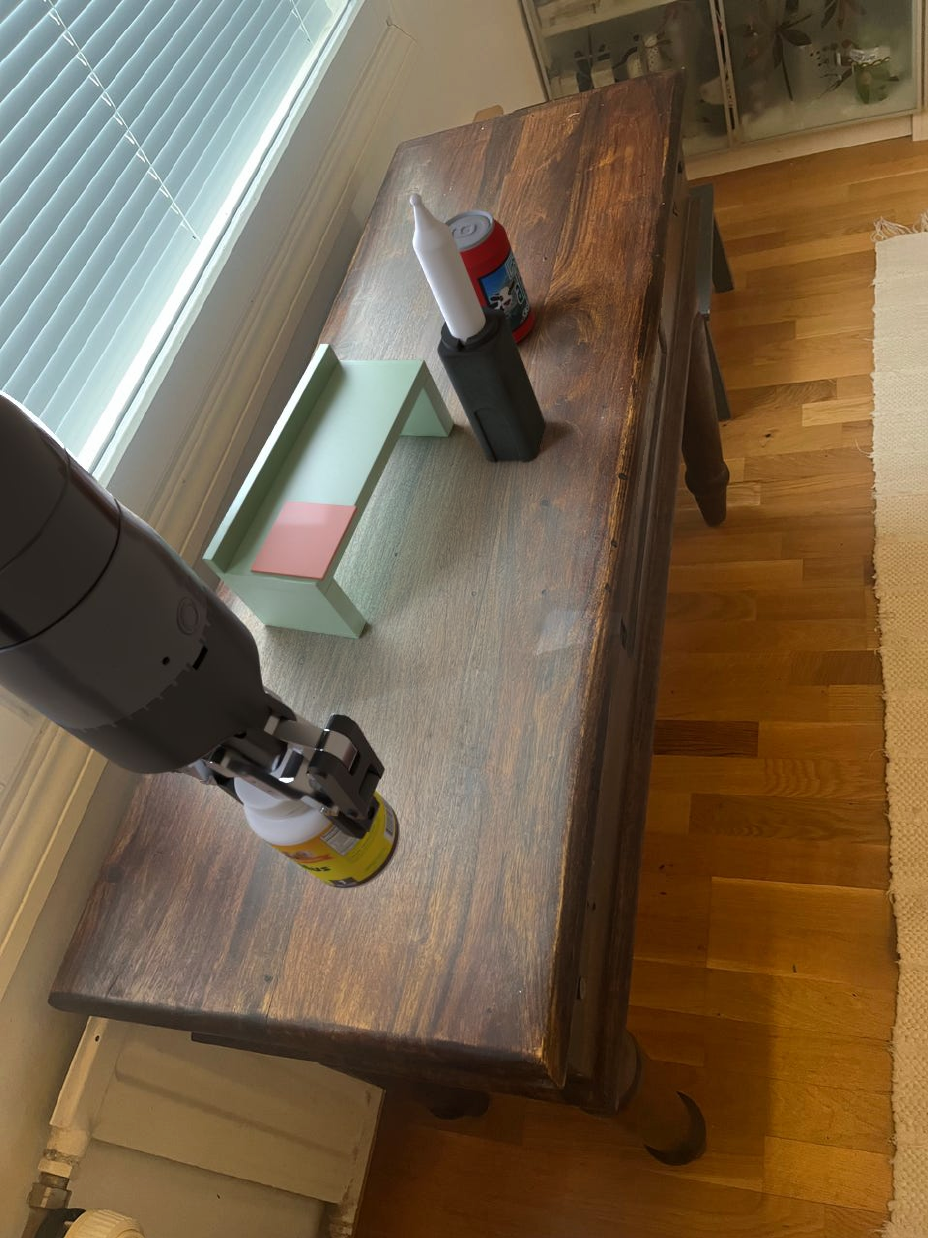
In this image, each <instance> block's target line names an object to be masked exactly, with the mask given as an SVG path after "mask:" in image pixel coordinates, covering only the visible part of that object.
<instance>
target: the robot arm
mask: <svg viewBox="0 0 928 1238" xmlns="http://www.w3.org/2000/svg"><path fill="white" fill-rule="evenodd" d="M261 670H262V668H261V659H260V652H259V648H258V645H257V642H256V639H255V638H254V635H253V634H252V632H251V631H250V629H249V627H247V626H246V624H245V623H244V622H243V621H242V620H241V619H240V618H239V617H238V616H237V615H236V614H235V613H234V611H232V609H231V608H230V607H229V606H228V605H227V604H226V603H225V602H224V601H223V600H222V599H221V598H220V597H219V596H218V595H217V594H216V592H214V591H213V590H212V588H211V587H210V586H209V585H208V584H207V583H206V581H204V580H203V579H202V577H200V576H199V574H198V573H196V572H195V571H194V569H193V568H192V567H191V566H190V565H189V564H188V563H187V561H185V560H184V558H182V557H181V556H180V555H179V553H178V552H177V551H176V550H174V547H172V546H171V544H169V543H168V542H167V541H166V539H164V538H163V537H162V536H161V535H160V534H159V533H158V532H157V531H156V530H155V529H154V528H153V527H152V526H151V525H150V524H149V523H147V521H145V520H144V519H143V518H141V517H139V516H138V515H137V514H135V512H133V511H131V510H130V509H129V508H128V507H126V506H125V505H124V504H122V503H121V501H119V500H118V499H117V498H116V497H115V496H114V495H112V493H110V492H109V491H108V490H107V489H106V488H105V487H104V486H103V485H102V484H101V483H100V481H99V480H97V479H96V477H95V476H93V474H92V473H91V472H90V471H89V470H88V469H87V468H86V467H85V466H84V465H83V464H82V463H81V462H80V461H79V460H78V459H77V457H75V455H73V453H72V452H71V451H70V450H69V449H68V448H67V447H66V446H65V445H64V444H63V443H62V441H60V439H59V438H58V437H57V436H56V435H55V434H54V433H53V432H52V431H51V430H50V429H49V428H48V427H47V426H46V425H45V424H44V423H43V422H42V421H41V420H40V419H39V418H38V417H37V416H36V415H34V414H33V413H32V412H31V411H29V409H28V408H26V407H25V406H24V405H22V403H20V402H19V401H17V400H15V399H14V398H13V397H11V396H10V395H8V394H6V393H5V392H3V391H1V390H0V686H1V687H2V688H3V689H4V690H6V691H7V692H8V693H10V694H11V695H13V696H14V697H16V698H17V699H19V700H20V701H21V702H23V703H25V704H26V705H28V706H29V707H31V708H32V709H33V710H35V711H36V712H38V713H39V714H41V715H43V717H45V718H47V719H48V720H50V721H51V722H53V723H54V724H55V725H56V726H58V727H60V728H62V729H63V730H64V731H66V732H67V733H69V734H70V735H71V736H73V737H75V738H76V739H78V740H79V741H80V742H82V743H84V744H85V745H86V746H87V747H89V748H91V749H92V750H94V751H95V752H96V753H98V754H99V755H101V756H103V757H104V758H105V759H107V760H108V761H110V762H111V763H113V764H114V765H116V766H117V767H119V768H121V769H124V770H126V771H129V772H132V773H134V774H144V775H158V774H165V773H172V774H185V775H187V776H190V777H192V778H195V779H197V780H198V781H199V783H201V784H202V785H205V786H214V787H216V786H217V788H220V790H222V791H223V792H225V793H226V794H227V795H229V796H230V797H231V798H232V799H233V800H235V801H236V802H238V803H240V805H242V807H244V803H243V802H242V801H241V800H240V798H239V797H238V795H237V793H236V790H235V785H234V778H235V777H236V778H241V779H243V780H244V781H246V782H248V783H250V784H251V785H253V786H255V787H256V788H258V789H260V790H262V791H263V792H265V793H267V794H269V795H270V796H272V797H274V798H276V799H278V800H289V801H298V800H301V801H303V802H305V803H306V804H308V805H310V806H311V807H313V808H315V809H317V810H318V811H319V813H321V814H323V815H324V816H325V817H326V818H327V819H328V820H330V821H331V822H332V823H333V824H334V825H335V826H337V827H338V828H339V829H340V830H341V831H342V832H344V833H345V834H346V835H347V836H350V837H354V838H357V839H362V838H364V836H365V835H366V833H367V832H370V830H371V827H372V825H373V822H374V820H375V817H376V815H377V813H378V810H379V808H380V803H379V802H378V801H377V799H376V797H375V796H374V793H375V790H376V791H377V788H378V785H379V783H380V780H382V778H383V776H384V773H385V771H386V768H385V766H384V765H383V762H382V761H381V759H380V757H379V756H378V755H377V753H376V751H375V749H374V748H373V746H372V745H371V744H370V741H369V740H368V739H367V737H366V735H365V734H364V732H363V730H362V729H361V728H360V727H361V726H359V724H358V723H357V722H356V721H355V720H354V719H352V718H351V717H350V716H349V715H345V714H340V713H331V714H330V716H329V718H328V721H327V723H326V725H325V728H321V727H318V726H316V725H315V724H313V723H312V722H310V721H309V720H307V719H306V718H304V717H303V716H301V715H300V714H298V713H297V712H295V711H294V710H293V708H291V707H290V706H289V705H287V704H286V703H285V702H284V701H283V699H282V697H281V696H280V695H279V694H277V693H276V692H274V691H273V690H272V689H270V688H269V687H267V686H265V685H264V683H263V676H262V671H261ZM288 749H291V750H293V751H292V753H291V755H290V757H289V759H288V762H287V764H286V766H285V768H284V770H283V772H282V775H281V777H280V778H279V779H278V778H276V777H274V776H273V775H271V774H269V773H272V772H274V771H276V770H277V769H278V768H279V767H280V765H281V763H282V761H283V759H284V757H285V755H286V753H287V750H288ZM310 779H312V780H316V781H317V782H318V783H319V785H320V786H321V787H320V789H319V791H318V790H316V789H314V788H313V787H312V786H311V785H310Z"/></svg>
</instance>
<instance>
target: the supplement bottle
mask: <svg viewBox="0 0 928 1238" xmlns="http://www.w3.org/2000/svg"><path fill="white" fill-rule="evenodd" d="M292 751H293V750H291V749H288V750H287V753H286V755H285V757H284V759H283V761H282V763H281V765H280V767H279V768H278V769H277V770H276V771H274V772H272V773H269V774H271V775H273V776H274V777H276V778H278V779H279V778H280V777H281V775H282V772H283V770H284V768H285V766H286V764H287V762H288V759H289V757H290V755H291V753H292ZM234 785H235V790H236V793H237V795H238V797H239V798H240V800H241V801H242V802H243V803H244V806H243V811H244V816H245V819H246V821H247V823H248V825H249V827H250V828H251V829H252V831H253V832H254V833H255V834H256V835H257V836H258V837H260V839H262V840H263V841H264V842H265V843H267V844H269V845H270V846H271V847H273V848H275V849H276V850H278V852H280V853H281V854H283V855H284V856H286V857H287V858H288V859H289V860H291V861H293V862H294V863H295V864H297V865H299V866H300V867H301V868H303V869H304V870H305V871H306V872H308V873H310V875H312V876H313V877H315V878H317V879H318V880H319V881H321V882H322V883H324V884H326V885H328V886H330V887H331V888H335V889H340V890H353V889H358V888H362V887H364V886H367V885H369V884H371V883H372V882H374V881H376V880H377V879H379V877H380V876H381V875H383V874H384V873H385V872H386V871H387V869H388V868H389V867H390V865H391V864H392V863H393V861H394V859H395V857H396V855H397V852H398V849H399V845H400V841H401V826H400V821H399V818H398V816H397V812H396V811H395V810H394V808H393V807H392V805H390V803H389V802H388V801H387V800H386V799H385V798H384V797H383V796H382V795H381V794H380V793H379V791H377V789H376V790H375V793H374V796H375V797H376V799H377V801H378V802H379V803H380V808H379V810H378V813H377V815H376V817H375V820H374V822H373V825H372V827H371V830H370V832H367V833H366V835H365V836H364V838H362V839H357V838H354V837H350V836H347V835H346V834H345V833H344V832H342V831H341V830H340V829H339V828H338V827H337V826H335V825H334V824H333V823H332V822H331V821H330V820H328V819H327V818H326V817H325V816H324V815H323V814H321V813H319V811H318V810H317V809H315V808H313V807H311V806H310V805H308V804H306V803H305V802H303V801H301V800H298V801H289V800H278V799H276V798H274V797H272V796H270V795H269V794H267V793H265V792H263V791H262V790H260V789H258V788H256V787H255V786H253V785H251V784H250V783H248V782H246V781H244V780H243V779H241V778H236V777H235V778H234ZM310 785H311V786H312V787H313V788H314V789H316V790H318V791H319V789H320V787H321V786H320V785H319V783H318V782H317V781H316V780H312V779H310Z"/></svg>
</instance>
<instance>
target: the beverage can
mask: <svg viewBox="0 0 928 1238" xmlns="http://www.w3.org/2000/svg"><path fill="white" fill-rule="evenodd" d="M443 223H444V224H446V225H447V226H448V227H449V228H450V230H451V232H452V235H453V237H454V240H455V242H456V245H457V247H458V250H459V253H460V255H461V258H462V260H463V263H464V265H465V268H466V270H467V273H468V275H469V278H470V281H471V283H472V286H473V288H474V291H475V293H476V296H477V298H478V301H479V303H480V305H483V306H487V307H489V308H491V309H500V310H502V311H503V312H504V313H505V315H506V318H507V321H508V323H509V326H510V329H511V331H512V334H513V337H514V339H515V342H516V344H517V343H519V341H521V340H522V339H524V337H526V335H528V333H529V332H530V331H531V330H532V327H533V325H534V321H535V318H534V317H535V315H534V312H533V309H532V306H531V305H532V304H531V303H530V299H529V296H528V293H527V290H526V287H525V284H524V281H523V277H522V275H521V271H520V269H519V265H518V263H517V260H516V257H515V254H514V252H513V248H512V246H511V243H510V240H509V237H508V234H507V231H506V229H505V227H504V226H503V225H502V223H500V222H499V221H498V220H496V219H495V218H494V217H493V215H492V214H491V213H490V212H489V211H487V210H484V209H469V210H466V211H462V212H460V213H457V214H455V215H454V216H452V217H450V218H449V219H448V220H446V221H445V222H443Z"/></svg>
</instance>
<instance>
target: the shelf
mask: <svg viewBox="0 0 928 1238" xmlns="http://www.w3.org/2000/svg"><path fill="white" fill-rule="evenodd" d="M439 390H440V389H439V388H438V386H437V383H436V382H435V379H434V378H433V376H432V373H431V371H430V368H429V366H428V365H427V362H426V360H425V359H353V360H352V359H351V360H350V359H349V360H348V359H345V360H342V359H341V360H340V359H339V357H338V356H337V354H336V353H335V351H334V348H333V346H331V344H330V343H320V344H319V347H318V349H317V350H316V352H315V354H314V355H313V357H312V359H311V361H310V363H309V365H308V366H307V368H306V369H305V372H304V374H303V375H302V377H301V379H300V380H299V383H298V384H297V386H296V388H295V389H294V392H293V393H292V395H291V397H290V399H289V400H288V402H287V404H286V406H285V408H284V409H283V412H282V414H281V415H280V417H279V419H278V420H277V422H276V424H275V425H274V428H273V430H272V432H271V433H270V435H269V436H268V439H267V440H266V442H265V444H264V446H263V448H262V449H261V451H260V453H259V455H258V457H257V458H256V460H255V462H254V464H253V465H252V468H251V469H250V471H249V473H248V475H247V476H246V478H245V480H244V482H243V484H242V486H241V487H240V489H239V491H238V492H237V495H236V496H235V498H234V499H233V502H232V504H231V505H230V507H229V509H228V511H227V512H226V515H225V516H224V518H223V520H222V522H221V524H220V525H219V527H218V529H217V530H216V533H215V535H214V536H213V538H212V540H211V541H210V544H209V546H208V547H207V549H206V551H205V552H204V554H203V555H202V557H201V559H202V560H203V561H204V563H205V564H206V565H207V566H208V567H209V568H210V569H211V570H212V571H213V572H214V573H215V575H217V576H218V577H219V579H220V580H221V581H222V582H223V583H224V584H225V585H226V586H227V587H228V589H229V590H231V592H233V594H234V595H236V597H237V598H238V599H239V600H240V601H241V602H242V603H243V604H244V605H245V606H246V607H247V609H249V610H250V612H251V613H252V614H253V615H254V616H255V617H256V618H257V619H258V620H259V621H260V622H261V623H262V624H263V625H264V626H272V627H279V628H283V629H291V630H298V631H304V632H311V633H317V634H324V635H332V636H337V637H343V638H351V639H360V637H361V634H362V632H363V631H364V628H365V625H366V623H367V619H366V618H365V617H364V615H363V614H362V612H361V611H360V610H359V609H358V608H357V606H356V605H355V604H354V602H353V601H352V600H351V598H350V597H349V596H348V595H347V593H346V592H345V591H344V589H343V588H342V586H340V584H339V583H338V582H337V580H336V579H335V578H334V576H335V574H336V572H337V569H338V567H339V565H340V564H341V561H342V559H343V557H344V555H345V553H346V551H347V549H348V547H349V545H350V542H351V541H352V538H353V536H354V534H355V532H356V530H357V527H358V525H359V523H360V521H361V519H362V517H363V515H364V513H365V511H366V509H367V506H368V505H369V502H370V500H371V498H372V496H373V494H374V492H375V489H376V487H377V485H378V483H379V481H380V479H381V477H382V474H383V473H384V470H385V469H386V466H387V464H388V462H389V460H390V458H391V455H392V453H393V451H394V449H395V447H396V446H397V443H398V441H399V439H400V437H401V436H410V437H411V436H412V437H439V438H441V437H443V438H444V437H445V438H448V437H449V436H450V434H451V431H452V429H453V427H454V425H455V421H454V419H453V417H452V415H451V413H450V411H449V409H448V407H447V404H446V402H445V400H444V398H443V395H442V394H441V392H440V391H439Z"/></svg>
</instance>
